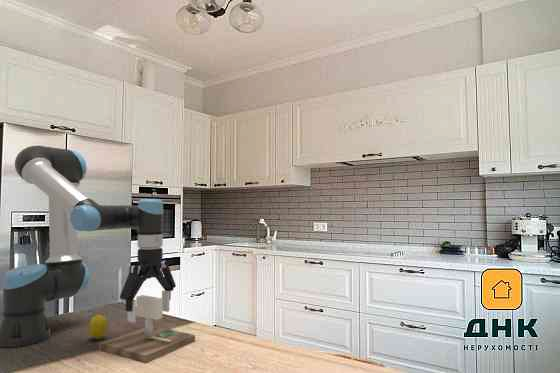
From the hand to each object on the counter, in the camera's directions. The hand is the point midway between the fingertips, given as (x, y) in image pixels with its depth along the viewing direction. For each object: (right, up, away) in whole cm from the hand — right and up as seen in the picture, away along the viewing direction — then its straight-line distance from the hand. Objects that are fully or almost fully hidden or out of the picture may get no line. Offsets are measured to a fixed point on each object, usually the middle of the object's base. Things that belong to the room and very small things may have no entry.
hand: (149, 316), depth 121 cm
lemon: (-19, -10, +5) cm, 22 cm away
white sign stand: (+2, -7, -1) cm, 7 cm away
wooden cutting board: (0, -9, 0) cm, 9 cm away
